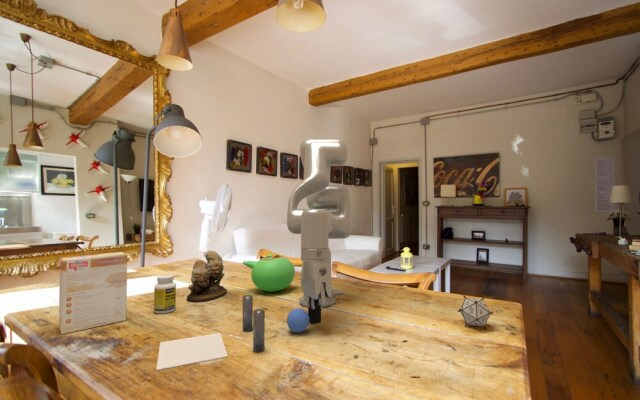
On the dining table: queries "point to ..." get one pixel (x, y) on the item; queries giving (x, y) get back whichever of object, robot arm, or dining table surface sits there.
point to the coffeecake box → (92, 291)
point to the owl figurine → (207, 279)
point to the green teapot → (271, 272)
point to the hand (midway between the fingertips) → (314, 322)
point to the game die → (475, 312)
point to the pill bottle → (165, 294)
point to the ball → (298, 320)
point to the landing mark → (190, 351)
